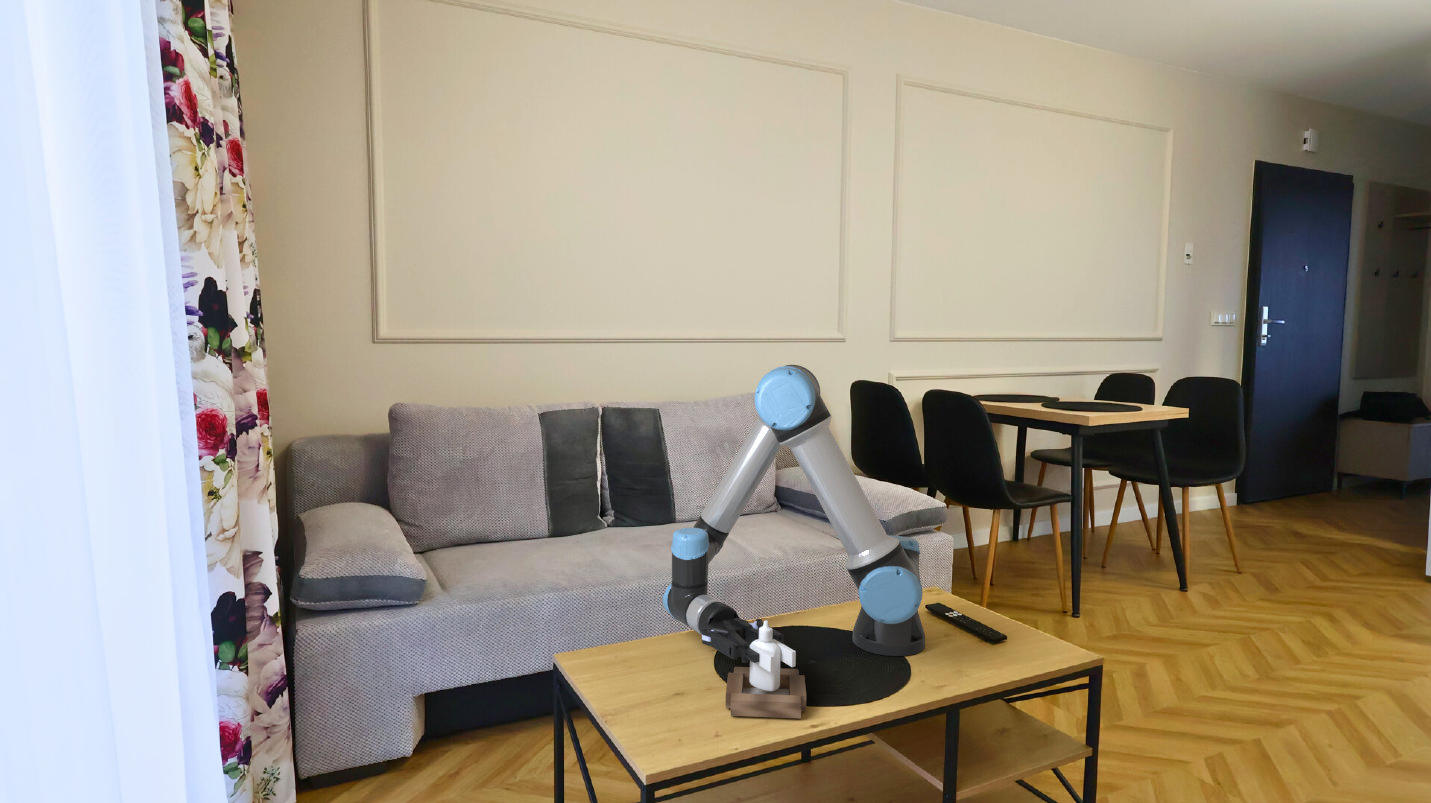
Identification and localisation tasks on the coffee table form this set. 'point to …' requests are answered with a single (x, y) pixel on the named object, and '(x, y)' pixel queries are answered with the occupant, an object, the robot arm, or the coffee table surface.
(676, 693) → the coffee table surface
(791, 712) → the socket block
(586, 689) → the coffee table surface
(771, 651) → the eye dropper bottle
